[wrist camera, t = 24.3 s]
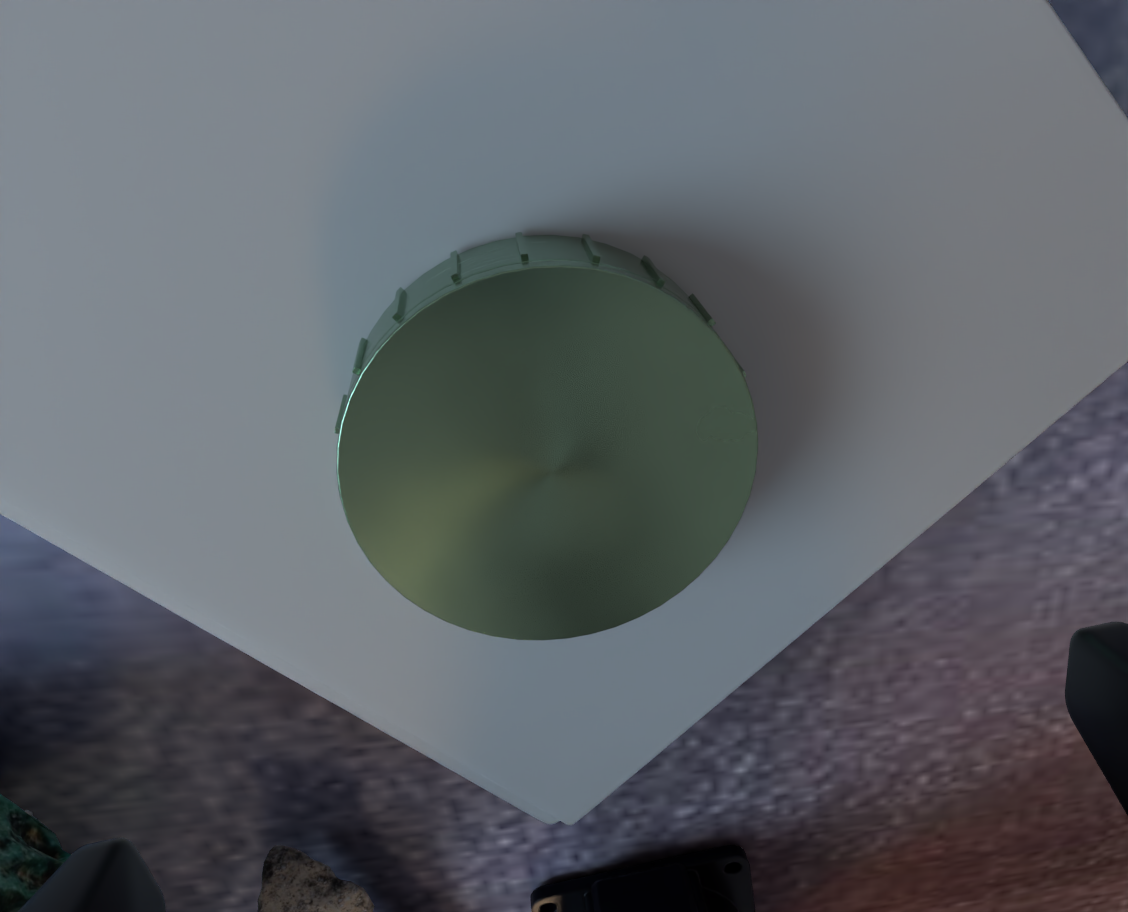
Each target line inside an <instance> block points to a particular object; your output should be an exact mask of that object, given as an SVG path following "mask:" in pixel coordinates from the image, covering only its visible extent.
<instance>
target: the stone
mask: <svg viewBox="0 0 1128 912" xmlns="http://www.w3.org/2000/svg"><path fill="white" fill-rule="evenodd" d="M374 907H375V906H374V904H373V903H372V901H371V899H370V898H369V896H368V894H367V893H366V891H365V889H364V888H362V887H360V886H358V885H356V884H354V883H353V882H351V881H345V880H340V879H338V878H337V877H336V876H335V875H334V873H333V871H332V870H331V869H330V867H329V866H327V865H325V864H323V863H321V862H318V861H315V860H313V859H312V858H310V857H309V856H307V855H306V854H305V853H303V852H301V851H299V850H297V849H295V848H291V847H288V846H283V845H275V846H274V847H273V848H272V849H271V850H270V852H269V854H268V856H267V858H266V860H265V862H264V866H263V873H262V889H261V892H260V896H259V899H258V912H373V909H374Z"/></svg>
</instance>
